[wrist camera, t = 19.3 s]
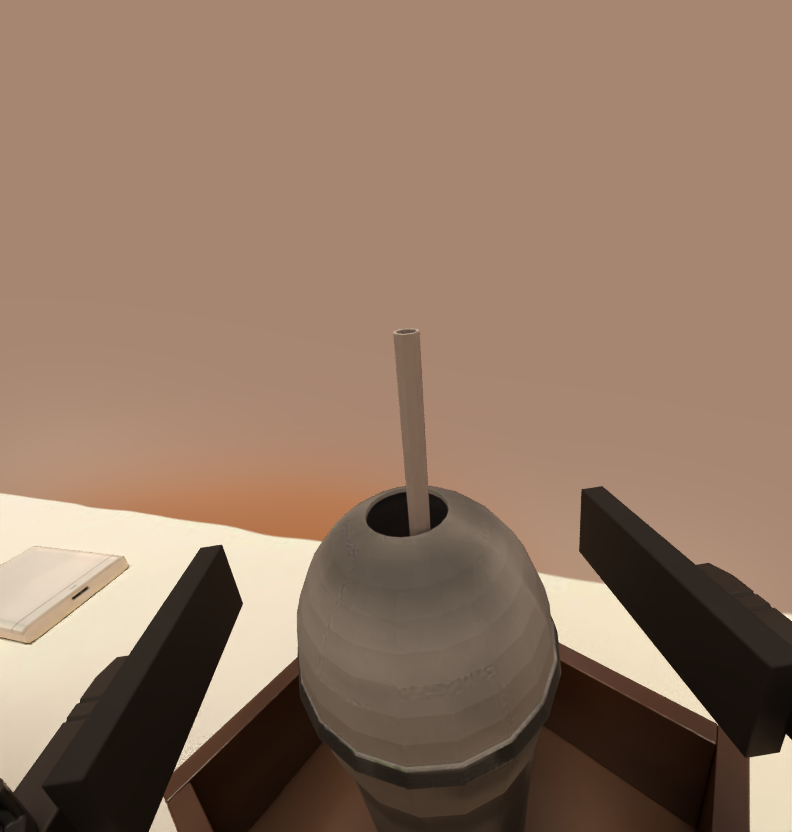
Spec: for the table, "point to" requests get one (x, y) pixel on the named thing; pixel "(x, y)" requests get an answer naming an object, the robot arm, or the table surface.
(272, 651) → the table surface
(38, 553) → the hard drive
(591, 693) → the box
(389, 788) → the beverage cup
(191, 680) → the robot arm
